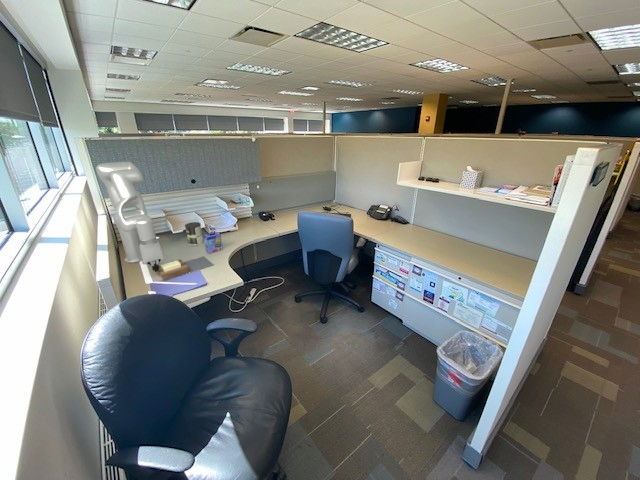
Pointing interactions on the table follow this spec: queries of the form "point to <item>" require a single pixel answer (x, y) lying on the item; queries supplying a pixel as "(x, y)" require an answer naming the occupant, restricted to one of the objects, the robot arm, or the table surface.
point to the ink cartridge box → (213, 242)
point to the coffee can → (194, 233)
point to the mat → (198, 264)
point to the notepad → (170, 266)
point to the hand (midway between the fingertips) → (156, 270)
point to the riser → (174, 271)
